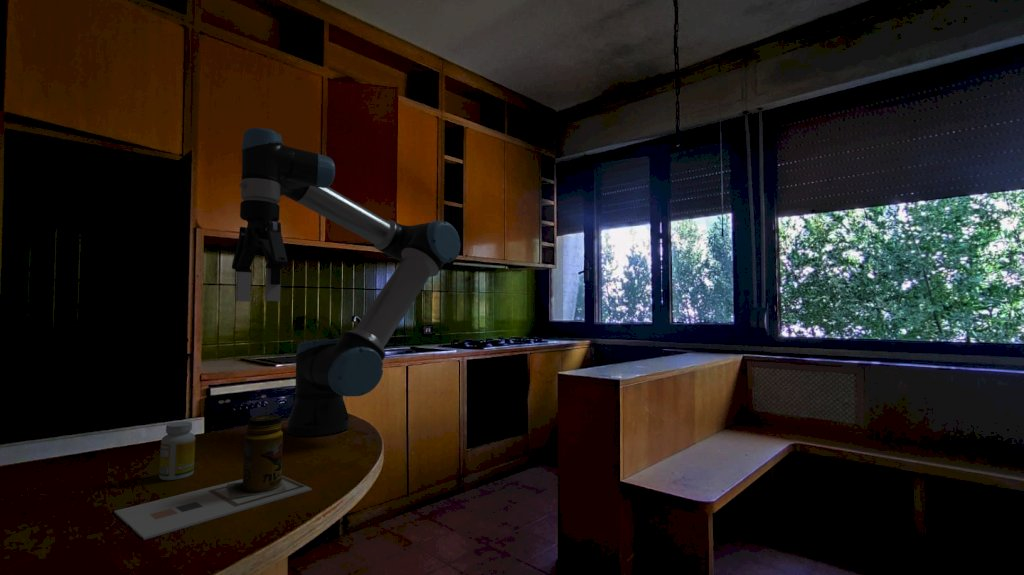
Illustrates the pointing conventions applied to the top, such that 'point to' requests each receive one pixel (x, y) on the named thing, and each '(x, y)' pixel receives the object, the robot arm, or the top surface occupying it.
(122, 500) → the top surface
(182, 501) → the sheet
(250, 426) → the condiment
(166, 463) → the supplement bottle
